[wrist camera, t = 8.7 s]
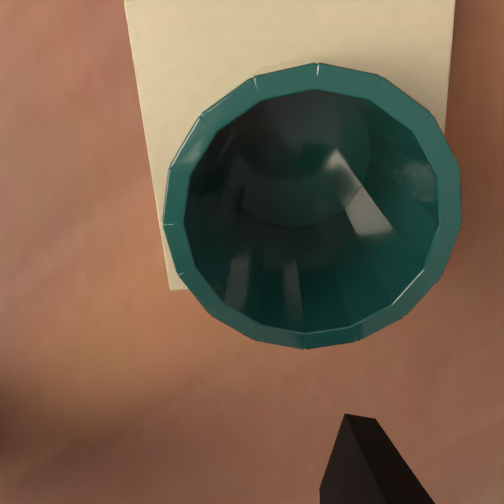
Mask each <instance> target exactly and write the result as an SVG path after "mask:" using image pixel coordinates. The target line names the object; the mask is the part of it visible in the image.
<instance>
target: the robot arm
mask: <svg viewBox="0 0 504 504" xmlns="http://www.w3.org/2000/svg"><path fill="white" fill-rule="evenodd" d="M320 504H435V503H434V501H433V500H432V499H431V497H430V496H429V495H428V493H427V492H426V490H425V489H424V488H423V486H422V485H421V483H420V482H419V481H418V479H417V478H416V476H415V475H414V474H413V472H412V471H411V469H410V468H409V466H408V465H407V464H406V462H405V461H404V459H403V458H402V456H401V455H400V453H399V452H398V451H397V449H396V448H395V446H394V445H393V443H392V442H391V440H390V439H389V437H388V436H387V435H386V433H385V432H384V430H383V429H382V427H381V426H380V425H379V423H378V422H377V420H376V419H374V418H368V417H362V416H356V415H350V414H344V417H343V420H342V423H341V426H340V429H339V432H338V435H337V438H336V441H335V444H334V447H333V450H332V453H331V456H330V459H329V462H328V465H327V468H326V471H325V474H324V477H323V480H322V483H321V486H320Z"/></svg>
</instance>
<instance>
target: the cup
mask: <svg viewBox="0 0 504 504" xmlns="http://www.w3.org/2000/svg"><path fill="white" fill-rule="evenodd" d="M162 222H163V225H162V226H163V229H164V233H165V236H166V239H167V243H168V246H169V249H170V253H171V256H172V260H173V263H174V266H175V270H176V272H177V274H178V276H179V278H180V279H181V280H182V281H183V283H184V284H185V285H186V286H187V288H188V289H189V290H190V291H191V292H192V294H193V295H194V296H195V297H196V299H197V300H198V301H199V302H200V304H201V305H202V306H203V307H204V309H205V310H206V311H207V312H208V313H209V314H211V316H212V317H214V318H216V319H218V320H219V321H221V322H223V323H224V324H226V325H228V326H230V327H231V328H233V329H235V330H237V331H238V332H240V333H242V334H244V335H245V336H247V337H249V338H250V339H252V340H254V339H255V341H259V342H265V343H270V344H276V345H281V346H287V347H292V348H298V349H314V348H320V347H327V346H333V345H340V344H347V343H353V342H356V340H357V341H360V340H362V339H364V338H365V337H367V336H369V335H371V334H373V333H375V332H377V331H379V330H381V329H383V328H385V327H387V326H389V325H390V324H392V323H394V322H396V321H398V320H400V319H402V318H403V316H406V315H407V314H408V313H409V312H410V311H411V310H412V309H413V307H414V306H415V305H416V304H417V303H418V302H419V301H420V300H421V299H422V298H423V297H424V296H425V294H426V293H427V292H428V291H429V290H430V289H431V288H432V287H433V286H434V285H435V284H436V283H437V282H438V280H439V279H440V278H441V276H442V275H443V272H444V270H445V267H446V265H447V262H448V260H449V257H450V255H451V252H452V250H453V247H454V244H455V242H456V239H457V237H458V234H459V232H460V229H461V224H462V204H461V176H460V168H459V163H458V161H457V160H456V158H455V156H454V154H453V152H452V150H451V148H450V146H449V144H448V142H447V140H446V138H445V136H444V134H443V132H442V130H441V129H440V127H439V125H438V123H437V121H436V119H435V117H434V116H433V115H432V114H431V112H430V111H429V110H428V109H426V108H425V107H424V106H422V105H421V104H420V103H418V102H417V101H416V100H414V99H413V98H412V97H410V96H409V95H408V94H406V93H405V92H404V91H402V90H401V89H400V88H398V87H397V86H396V85H394V84H393V83H392V82H390V81H389V80H388V79H386V78H385V77H381V76H380V75H379V74H374V73H369V72H364V71H359V70H355V69H350V68H345V67H340V66H335V65H330V64H326V63H321V62H311V61H300V60H298V61H296V60H294V61H290V62H285V63H280V64H276V65H272V66H267V67H263V68H260V69H258V70H256V71H255V72H254V73H252V74H251V75H249V76H248V77H247V78H245V79H244V80H243V81H241V82H240V83H238V84H237V85H236V86H234V87H233V88H232V89H230V90H229V91H228V92H227V93H225V94H224V95H223V96H222V97H220V98H219V99H218V100H217V101H215V102H214V103H213V104H212V105H210V106H209V107H208V108H207V109H205V110H204V111H203V112H202V113H201V115H200V116H198V117H197V119H196V121H195V123H194V124H193V126H192V128H191V129H190V131H189V133H188V134H187V136H186V138H185V139H184V141H183V143H182V145H181V146H180V148H179V150H178V151H177V153H176V155H175V156H174V158H173V160H172V162H171V163H170V167H169V169H168V174H167V183H166V191H165V199H164V207H163V216H162Z"/></svg>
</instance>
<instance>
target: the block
mask: <svg viewBox="0 0 504 504" xmlns="http://www.w3.org/2000/svg"><path fill="white" fill-rule="evenodd" d="M455 3H456V0H125V1H124V6H125V12H126V18H127V25H128V31H129V37H130V43H131V50H132V56H133V62H134V69H135V75H136V81H137V87H138V94H139V100H140V106H141V112H142V119H143V125H144V131H145V137H146V144H147V150H148V156H149V163H150V169H151V175H152V181H153V188H154V194H155V200H156V206H157V213H158V219H159V225H160V231H161V238H162V244H163V250H164V257H165V263H166V269H167V275H168V282H169V288H170V290H189V289H188V288H187V286H186V285H185V284H184V283H183V281H182V280H181V279H180V278H179V276H178V274H177V272H176V270H175V266H174V263H173V260H172V256H171V253H170V249H169V246H168V243H167V239H166V236H165V233H164V229H163V226H162V225H163V222H162V216H163V207H164V199H165V191H166V183H167V174H168V169H169V167H170V163H171V162H172V160H173V158H174V156H175V155H176V153H177V151H178V150H179V148H180V146H181V145H182V143H183V141H184V139H185V138H186V136H187V134H188V133H189V131H190V129H191V128H192V126H193V124H194V123H195V121H196V119H197V117H198V116H200V115H201V113H202V112H203V111H204V110H205V109H207V108H208V107H209V106H210V105H212V104H213V103H214V102H215V101H217V100H218V99H219V98H220V97H222V96H223V95H224V94H225V93H227V92H228V91H229V90H230V89H232V88H233V87H234V86H236V85H237V84H238V83H240V82H241V81H243V80H244V79H245V78H247V77H248V76H249V75H251V74H252V73H254V72H255V71H256V70H258V69H260V68H263V67H267V66H272V65H276V64H280V63H285V62H290V61H294V60H296V61H298V60H300V61H311V62H321V63H326V64H330V65H335V66H340V67H345V68H350V69H355V70H359V71H364V72H369V73H374V74H379V75H380V76H381V77H385V78H386V79H388V80H389V81H390V82H392V83H393V84H394V85H396V86H397V87H398V88H400V89H401V90H402V91H404V92H405V93H406V94H408V95H409V96H410V97H412V98H413V99H414V100H416V101H417V102H418V103H420V104H421V105H422V106H424V107H425V108H426V109H428V110H429V111H430V112H431V114H432V115H433V116H434V117H435V119H436V121H437V123H438V125H439V127H440V129H441V130H442V132H443V134H444V132H445V121H446V109H447V97H448V85H449V74H450V62H451V50H452V38H453V26H454V15H455Z"/></svg>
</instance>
